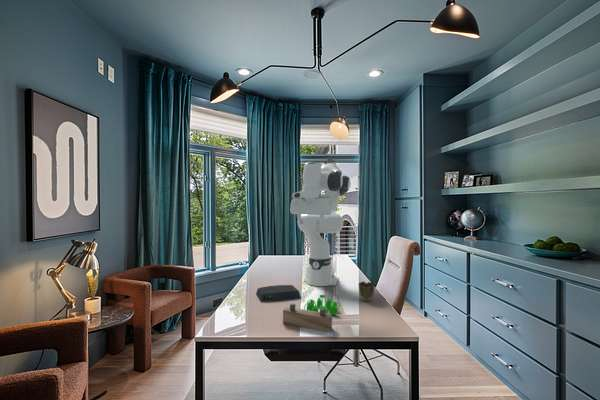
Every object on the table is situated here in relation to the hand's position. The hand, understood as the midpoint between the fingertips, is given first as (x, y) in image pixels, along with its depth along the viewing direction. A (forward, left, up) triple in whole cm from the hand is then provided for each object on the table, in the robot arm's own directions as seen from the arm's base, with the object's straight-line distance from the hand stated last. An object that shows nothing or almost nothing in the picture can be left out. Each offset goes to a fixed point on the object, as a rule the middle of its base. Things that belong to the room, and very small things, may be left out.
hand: (309, 224), depth 146 cm
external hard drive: (+3, -15, -36) cm, 39 cm away
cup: (-9, +25, -35) cm, 44 cm away
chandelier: (+13, +11, -35) cm, 39 cm away
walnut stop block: (+29, +11, -35) cm, 47 cm away
